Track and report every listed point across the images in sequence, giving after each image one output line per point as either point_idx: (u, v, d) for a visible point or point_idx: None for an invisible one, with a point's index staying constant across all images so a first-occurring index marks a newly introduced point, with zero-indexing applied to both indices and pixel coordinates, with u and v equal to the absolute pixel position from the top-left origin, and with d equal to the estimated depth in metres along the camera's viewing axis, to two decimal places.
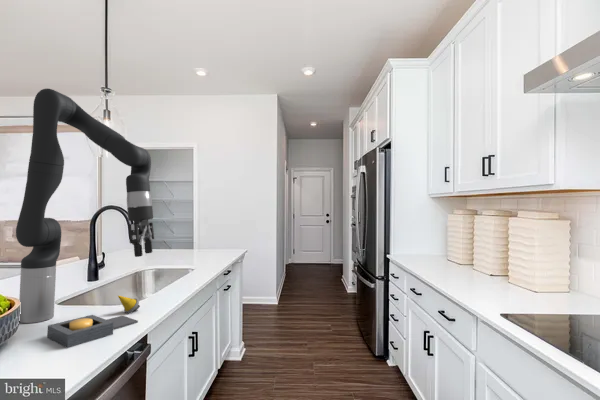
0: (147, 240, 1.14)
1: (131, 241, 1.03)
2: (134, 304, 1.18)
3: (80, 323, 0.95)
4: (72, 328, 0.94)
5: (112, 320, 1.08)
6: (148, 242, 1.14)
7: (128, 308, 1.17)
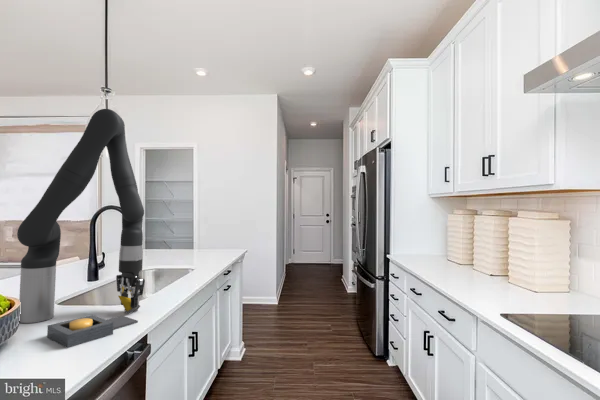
0: (124, 292, 1.20)
1: (137, 295, 1.15)
2: None
3: (80, 323, 0.95)
4: (72, 328, 0.94)
5: (112, 320, 1.08)
6: (125, 294, 1.20)
7: (128, 308, 1.17)
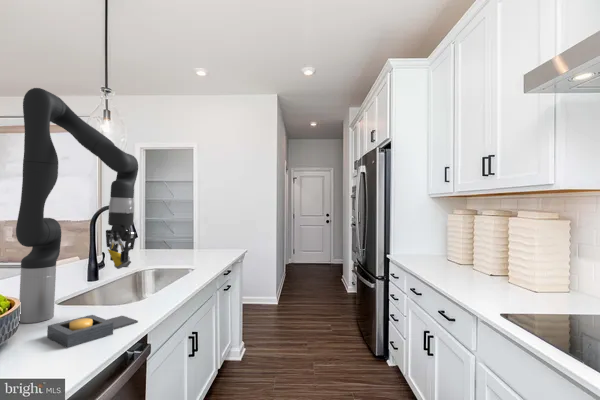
0: (114, 247, 1.14)
1: (128, 248, 1.09)
2: None
3: (80, 323, 0.95)
4: (72, 328, 0.94)
5: (112, 320, 1.08)
6: (115, 249, 1.14)
7: (118, 263, 1.11)
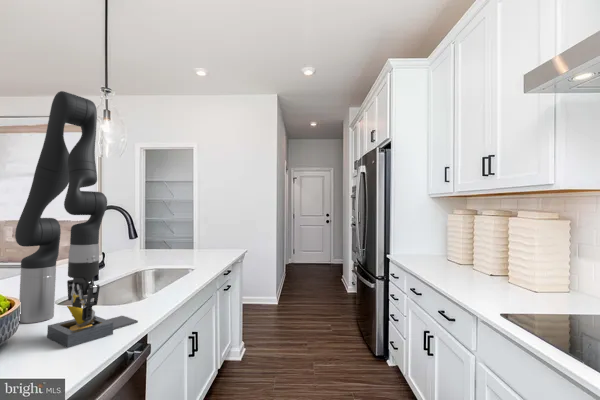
0: (77, 301, 0.98)
1: (90, 304, 0.93)
2: None
3: None
4: None
5: (112, 320, 1.08)
6: (78, 303, 0.98)
7: (80, 321, 0.95)
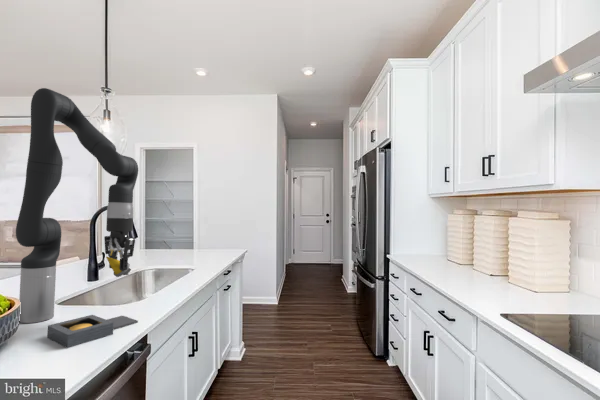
0: (113, 254, 1.09)
1: (126, 255, 1.04)
2: None
3: None
4: None
5: (112, 320, 1.08)
6: (114, 256, 1.09)
7: (118, 271, 1.06)
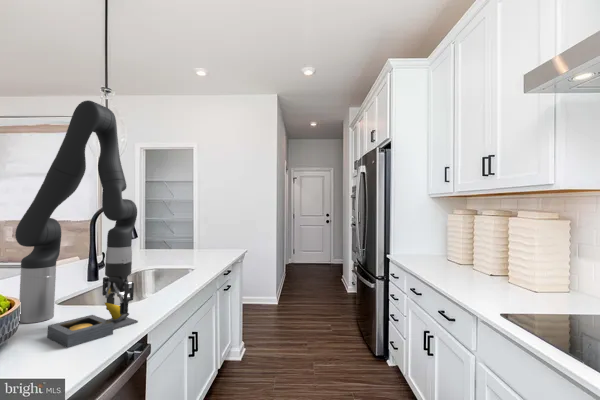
0: (110, 296, 1.09)
1: (127, 299, 1.03)
2: None
3: None
4: None
5: (112, 320, 1.08)
6: (111, 298, 1.10)
7: (116, 316, 1.06)
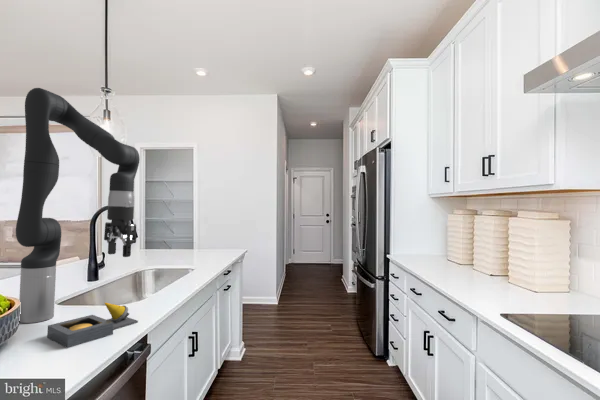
0: (112, 240, 1.10)
1: (130, 241, 1.04)
2: (123, 312, 1.07)
3: None
4: None
5: (112, 320, 1.08)
6: (113, 243, 1.10)
7: (116, 316, 1.06)
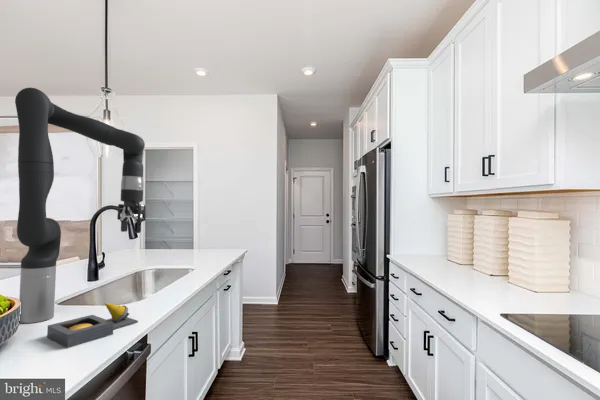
0: (124, 220, 1.27)
1: (140, 219, 1.20)
2: (123, 312, 1.07)
3: None
4: None
5: (112, 320, 1.08)
6: (125, 221, 1.27)
7: (116, 316, 1.06)
